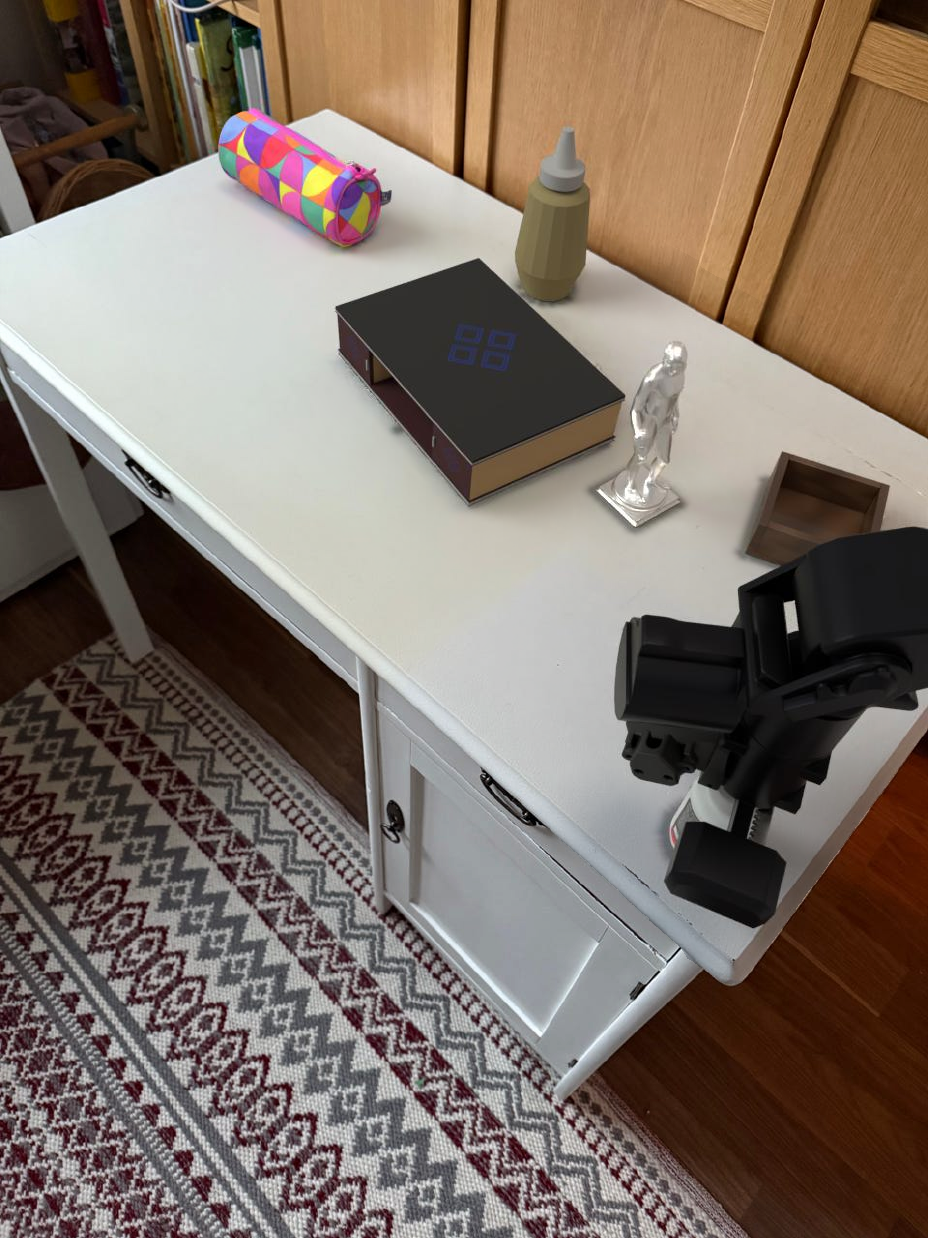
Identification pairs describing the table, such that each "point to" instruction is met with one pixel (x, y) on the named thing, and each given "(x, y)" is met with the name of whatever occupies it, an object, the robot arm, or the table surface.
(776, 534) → the holder
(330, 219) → the pencil case
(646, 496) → the figurine
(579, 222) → the squeeze bottle
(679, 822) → the pill bottle
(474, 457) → the book
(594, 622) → the table surface
